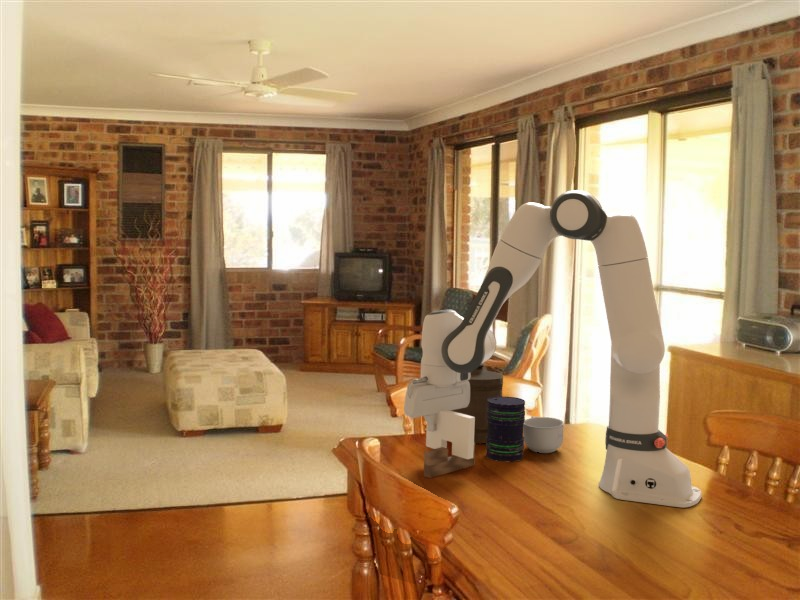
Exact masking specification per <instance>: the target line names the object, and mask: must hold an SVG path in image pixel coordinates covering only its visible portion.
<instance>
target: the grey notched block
mask: <svg viewBox="0 0 800 600" xmlns="http://www.w3.org/2000/svg"><path fill="white" fill-rule="evenodd" d="M475 457H476V444H475V442H474V453H473V458H471V459H465V458H461V457H458V456H455V455H452V454H451V456H449V448H448V447H447V448H444V447H440V448H437V449H433V448H432V449H430V450H429V449H428V450H425V451H424V453H423V477H424V478H425V477H426V478H427V479H428V478H430V479H431V478H432V479H433V478H434V477H439V476H441V475H442V476H443V475H445V474H448V473H452V472H453V473H454V472H457V471H459V469H460V470H463V469H466V467H467V468H470V467H473V466H472V465H474V466H475V464H476V463H475V461H476V458H475ZM469 466H470V467H469ZM462 468H463V469H462Z"/></svg>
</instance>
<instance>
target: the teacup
mask: <svg viewBox="0 0 800 600" xmlns="http://www.w3.org/2000/svg"><path fill="white" fill-rule="evenodd" d="M564 424H565V422H564V421H563V420H562V419H559V418H555V417H548V416H547V417H545V416H542V417H541V416H539V417H538V416H537V415H536V416H535V415H533V416H531V417H530V418H526V419H525V421H524V423H523V437H524V445H526V447H527V448H529V450H531V451H532V452H534V453H537V452H539V454H550V453H554V452H556V451H557V450H558V449H559V448H560V447H561V446H562V445H563V442H564Z"/></svg>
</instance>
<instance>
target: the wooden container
mask: <svg viewBox="0 0 800 600" xmlns="http://www.w3.org/2000/svg"><path fill="white" fill-rule="evenodd" d="M483 367H485V364H484V363H482V364H481V365H480V366H479V367H478V368H477V369H476V370H474V371H472V372H470V374H471V376H470V380H467V381H469V383H470V403H469V405H468V406H467V407H466V408H461V409H456V410H451V411H454V412H458V413H461V414H465V415H469V416H473V417H475V428H474V442H475V445H476V444H477V445H482V444H481V443H486V435H487V434H488V421H487V409H488V408H487V406H488V399H489V398H491V397H501V396H503V385H504V375H503V374H502V373H500V372H496V371H492V370H484V368H483ZM478 443H479V444H478Z"/></svg>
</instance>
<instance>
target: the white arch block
mask: <svg viewBox="0 0 800 600" xmlns="http://www.w3.org/2000/svg"><path fill="white" fill-rule="evenodd" d="M432 419H433V421H434V424H437V427H436V428H437V430H436V431H433V432H431V431H428V424H427V423H426V433H425V434H426V436H425V437H426V439H425V440H426V441H425V446H426V447H427V448H429V449H432V450H433V449H437V448H440V447H444V448H447V449H448V447H447V446H448V442H450V443H451V456H452V455H455V456H458V457H461V458H465V459H471V458H473V453H474V428H475V417H473V416H469V415H465V414H461V413H458V412H454V411H450V410H446V409H445V410H440V412H439V413H437V414H434V418H432Z"/></svg>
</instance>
